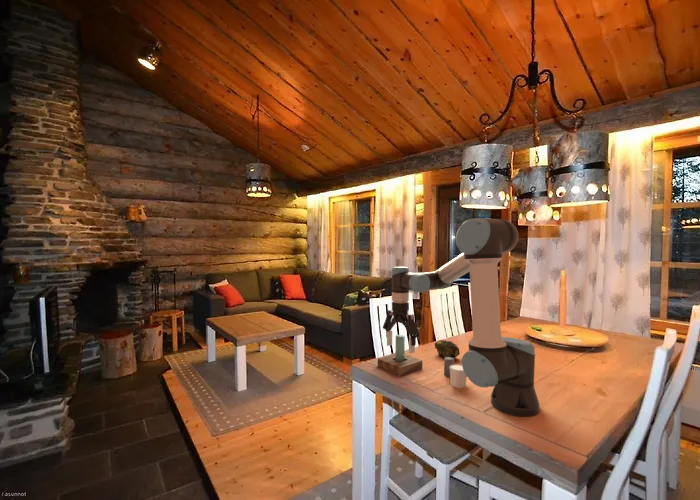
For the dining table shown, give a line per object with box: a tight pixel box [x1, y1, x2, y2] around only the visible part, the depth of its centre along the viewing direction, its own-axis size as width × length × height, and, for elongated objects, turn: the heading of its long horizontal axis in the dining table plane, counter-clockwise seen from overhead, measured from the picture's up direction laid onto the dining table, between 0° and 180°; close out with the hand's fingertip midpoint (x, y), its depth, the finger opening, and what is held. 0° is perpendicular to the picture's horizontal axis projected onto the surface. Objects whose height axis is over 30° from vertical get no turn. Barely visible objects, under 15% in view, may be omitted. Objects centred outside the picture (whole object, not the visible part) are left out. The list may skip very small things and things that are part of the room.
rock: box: [434, 339, 461, 359], centre depth 168 cm, size 12×9×8 cm
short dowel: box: [443, 357, 455, 378], centre depth 146 cm, size 4×4×7 cm
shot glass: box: [449, 364, 468, 389], centre depth 137 cm, size 7×7×7 cm
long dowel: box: [395, 334, 406, 362], centre depth 155 cm, size 4×4×14 cm
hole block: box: [377, 352, 423, 377], centre depth 155 cm, size 14×14×4 cm
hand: (400, 348), depth 155 cm, fingers open, 13 cm apart
